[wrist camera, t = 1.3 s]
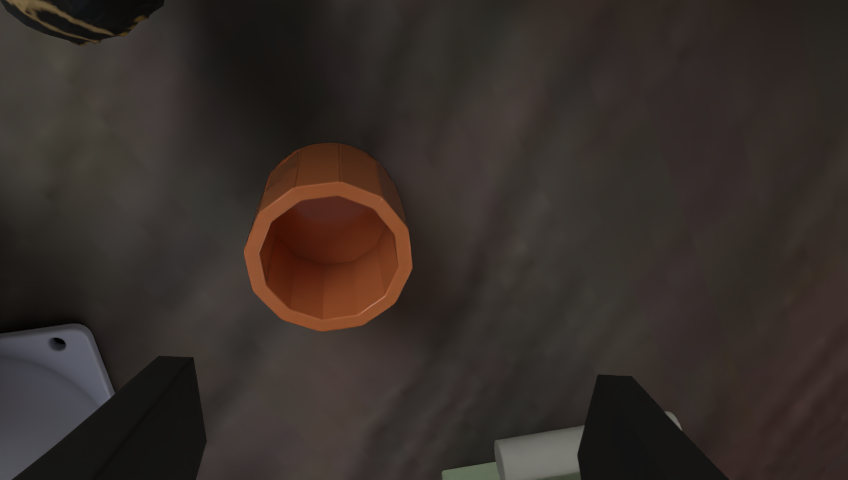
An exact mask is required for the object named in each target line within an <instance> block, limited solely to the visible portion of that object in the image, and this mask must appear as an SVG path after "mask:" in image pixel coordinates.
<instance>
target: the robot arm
mask: <svg viewBox="0 0 848 480" xmlns="http://www.w3.org/2000/svg"><path fill="white" fill-rule="evenodd" d="M54 338H60V339H62V340H64V342H65V343H66V344H59V343H57V342H56V341H55V340H54ZM206 441H207V440H206V434H205V427H204V421H203V415H202V408H201V402H200V396H199V389H198V383H197V377H196V371H195V364H194V358H193V357H172V356H158V357H157V358H156V359H154V360H153V361H152V362H151V363H150V364H149V365H147V366H146V367H145V368H144V369H143V370H141V371H140V372H139V373H138V374H137V375H136V376H135V377H133V378H132V379H131V380H130V381H129V382H128V383H127V384H126V385H124V386H123V387H122V388H121V389H120V390H119V391H118V392H116V393H115V392H114V390H113V387H112V384H111V382H110V379H109V377H108V374H107V371H106V369H105V366H104V363H103V361H102V358H101V355H100V353H99V350H98V348H97V345H96V342H95V340H94V337H93V334H92V333H91V331H90V330H89V329H88V328H87V327H85V326H84V325H81V324H66V325H59V326H51V327H44V328H37V329H30V330H23V331H16V332H9V333H2V334H0V480H196V477H197V474H198V470H199V467H200V463H201V459H202V456H203V452H204V449H205V445H206ZM577 458H578V464H579V470H580V476H581V480H729V479H728V478H727V477H726V476H725V475H724V474H723V473H722V472H721V471H720V470H719V469H718V468H717V467H716V466H715V465H714V464H713V463H712V462H711V461H710V460H709V459H708V458H707V457H706V456H705V455H704V454H703V453H702V451H701V450H700V449H699V448H698V447H697V446H696V445H695V444H694V443H693V442H692V441H691V440H690V439H689V438H688V437H687V436H686V435H685V434H684V432H683V431H682V430H681V429H680V428H679V427H678V426H677V425H676V424H675V423H674V422H673V421H672V420H671V418H670V417H669V416H668V415H667V414H666V413H665V412H664V411H663V410H662V409H661V408H660V407H659V405H658V404H657V403H656V402H655V401H654V400H653V399H652V398H651V397H650V396H649V394H648V393H647V392H646V391H645V390H644V389H643V388H642V387H641V386H640V385H639V384H638V383H637V382H636V381H635V379H634V378H633V377H632V376H615V375H598V376H597V380H596V384H595V388H594V392H593V395H592V399H591V403H590V407H589V411H588V415H587V418H586V422H585V426H584V430H583V434H582V438H581V441H580V445H579V449H578V453H577Z"/></svg>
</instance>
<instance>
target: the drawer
mask: <svg viewBox="0 0 848 480" xmlns="http://www.w3.org/2000/svg"><path fill="white" fill-rule="evenodd" d="M665 413H666V414H667V415H668V416H669V417H670V418H671V420H672V421H673V422H674V423H675V424H676V425H677V426H678V427H679V428H680V429H681V426H680V424H679V422H678V420H677V418H676V417H675V416H674V415H673V414H672V413H671V412H668V411H666V412H665ZM584 426H585V425H583V426H577V427H571V428H565V429H559V430H553V431H547V432H541V433H535V434H529V435H523V436H518V437H512V438H506V439H500V440H496V441H495V443H494V452H495V459H496V462H490V463H484V464H479V465H473V466H467V467H461V468H455V469H449V470H444V471H442V480H581V476H580V470H579V464H578V458H577V453H578V449H579V445H580V441H581V438H582V434H583V430H584ZM681 430H682V429H681Z"/></svg>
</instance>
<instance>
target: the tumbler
mask: <svg viewBox="0 0 848 480" xmlns="http://www.w3.org/2000/svg"><path fill="white" fill-rule="evenodd" d="M244 257H245V261H246V266H247V270H248V274H249V278H250V283H251V287H252V290H253V291H254V293H255V294H256V295H257V296H258V297H259V298H260V299H261V300H262V301H263V302H264V303H265V304H266V305H267V306H268V307H269V308H270V309H271V310H272V311H273V312H274V313H275V314H276V315H277V316H278V317H279V318H280V319H282V320H284V321H287V322H291V323H294V324H297V325H301V326H304V327H307V328H310V329H314V330H317V331H322V332H324V331H331V330H338V329H344V328H351V327H358V326H362V325H364V324H366V323H367V322H369V321H370V320H372V319H373V318H375V317H376V316H377V315H379V314H380V313H382V312H383V311H385V310H386V309H388V308H389V307H391V306H392V305H393V304H395V302H396V301H397V299H398V297H399V295H400V293H401V291H402V289H403V287H404V285H405V283H406V281H407V279H408V277H409V275H410V273H411V271H412V267H413V264H412V254H411V245H410V235H409V229H408V226H407V222H406V219H405V215H404V212H403V209H402V205H401V202H400V198H399V195H398V191H397V188H396V186H395V185H394V184H393V182H392V180H391V178H390V176H389V175H388V173H387V172H386V170H385V169H384V168H383V167H382V166H381V164H380V163H379V162H378V161H376V160H375V159H374V158H373V157H372V156H370V155H369V154H367V153H366V152H364V151H362V150H360V149H358V148H355V147H352V146H349V145H345V144H340V143H318V144H312V145H309V146H306V147H303V148H300V149H298V150H296V151H294V152H292V153H291V154H289V155H288V156H286V157H285V158H284V159H283V160H282V161H281V162H279V164H278V165H277V166H276V167H275V168H274V169H273V171H271V173H270V174H269V177H268V180H267V182H266V184H265V187H264V190H263V193H262V195H261V198H260V201H259V203H258V206H257V210H256V213H255V216H254V219H253V222H252V226H251V229H250V232H249V235H248V238H247V242H246V245H245V248H244Z"/></svg>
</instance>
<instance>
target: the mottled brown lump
mask: <svg viewBox="0 0 848 480" xmlns="http://www.w3.org/2000/svg"><path fill="white" fill-rule="evenodd" d="M1 2H2V4H3V5H4V7H5V9H6V10H7V11H8V12H9V13H10V14H12V15H13V16H14V17H16V18H17V19H18V20H20V21H21V22H22V23H24V24H25V25H26V26H29V27H31V28H33V29H35V30H37V31H40V32H42V33H45V34H48V35H51V36H55V37H58V38H62V39H65V40H69V41H71V42H72V43H73V44H75V45H79V46H84V45H86V44H88V43H94V44H96V43H99V42H101V40H102V39H106V38H111V37H115V36H126V35H127V34H128V33H129V32H130V31H131V29H133V28H134V27H135V26H136V24H137V23H138V22H139V21H142V20H145V19H148V18H149V15H150V14H152V13H153V12H154V11H156V10H157V9H159V8H161V7H162V6H163V5H164V0H1Z"/></svg>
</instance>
